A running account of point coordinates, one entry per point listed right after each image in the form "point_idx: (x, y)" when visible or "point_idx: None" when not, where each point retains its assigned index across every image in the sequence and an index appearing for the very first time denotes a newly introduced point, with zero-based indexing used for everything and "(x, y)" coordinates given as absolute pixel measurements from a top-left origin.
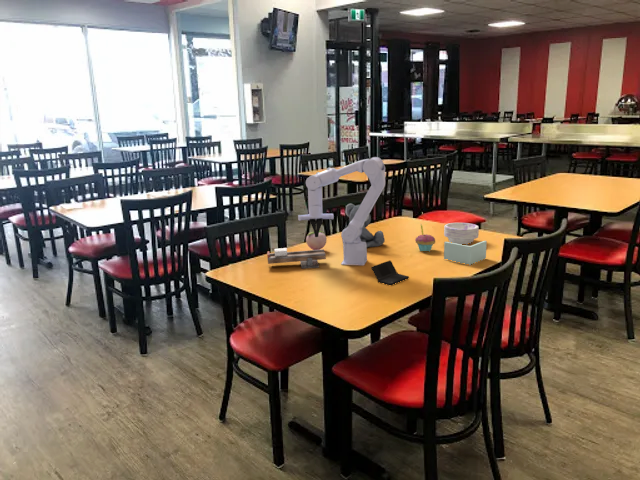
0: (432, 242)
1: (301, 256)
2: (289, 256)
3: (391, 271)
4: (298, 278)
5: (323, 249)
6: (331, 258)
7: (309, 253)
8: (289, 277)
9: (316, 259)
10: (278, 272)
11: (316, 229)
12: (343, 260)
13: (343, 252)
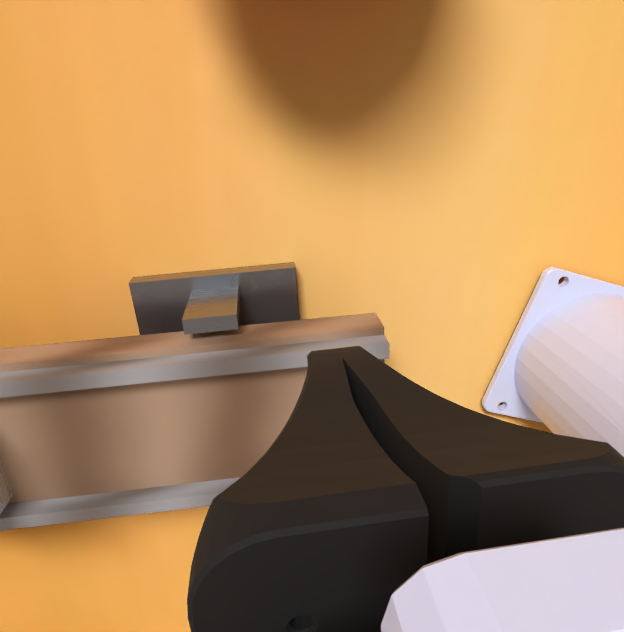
0: None
1: (157, 503)
2: (34, 526)
3: None
4: (177, 628)
5: (384, 352)
6: (433, 213)
7: (228, 393)
8: (114, 614)
9: None
10: (3, 533)
11: (367, 415)
12: (519, 336)
13: (560, 403)
